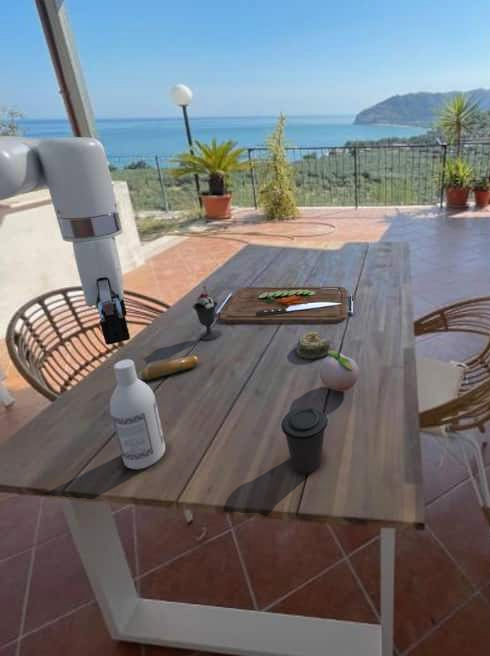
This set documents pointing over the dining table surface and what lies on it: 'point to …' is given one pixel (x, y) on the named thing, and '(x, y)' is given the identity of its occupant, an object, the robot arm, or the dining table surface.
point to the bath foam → (136, 418)
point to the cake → (313, 346)
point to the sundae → (206, 314)
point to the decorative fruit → (338, 371)
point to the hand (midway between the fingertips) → (117, 328)
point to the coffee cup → (305, 437)
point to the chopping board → (286, 305)
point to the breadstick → (169, 367)
